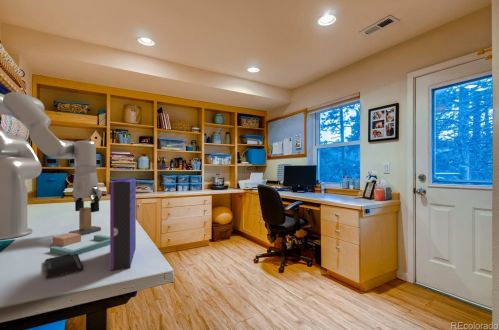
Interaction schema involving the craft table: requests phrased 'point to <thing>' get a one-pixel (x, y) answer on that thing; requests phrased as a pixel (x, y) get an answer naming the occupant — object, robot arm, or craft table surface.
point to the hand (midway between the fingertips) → (87, 211)
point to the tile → (66, 239)
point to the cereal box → (122, 223)
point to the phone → (62, 266)
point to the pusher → (85, 222)
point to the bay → (63, 251)
